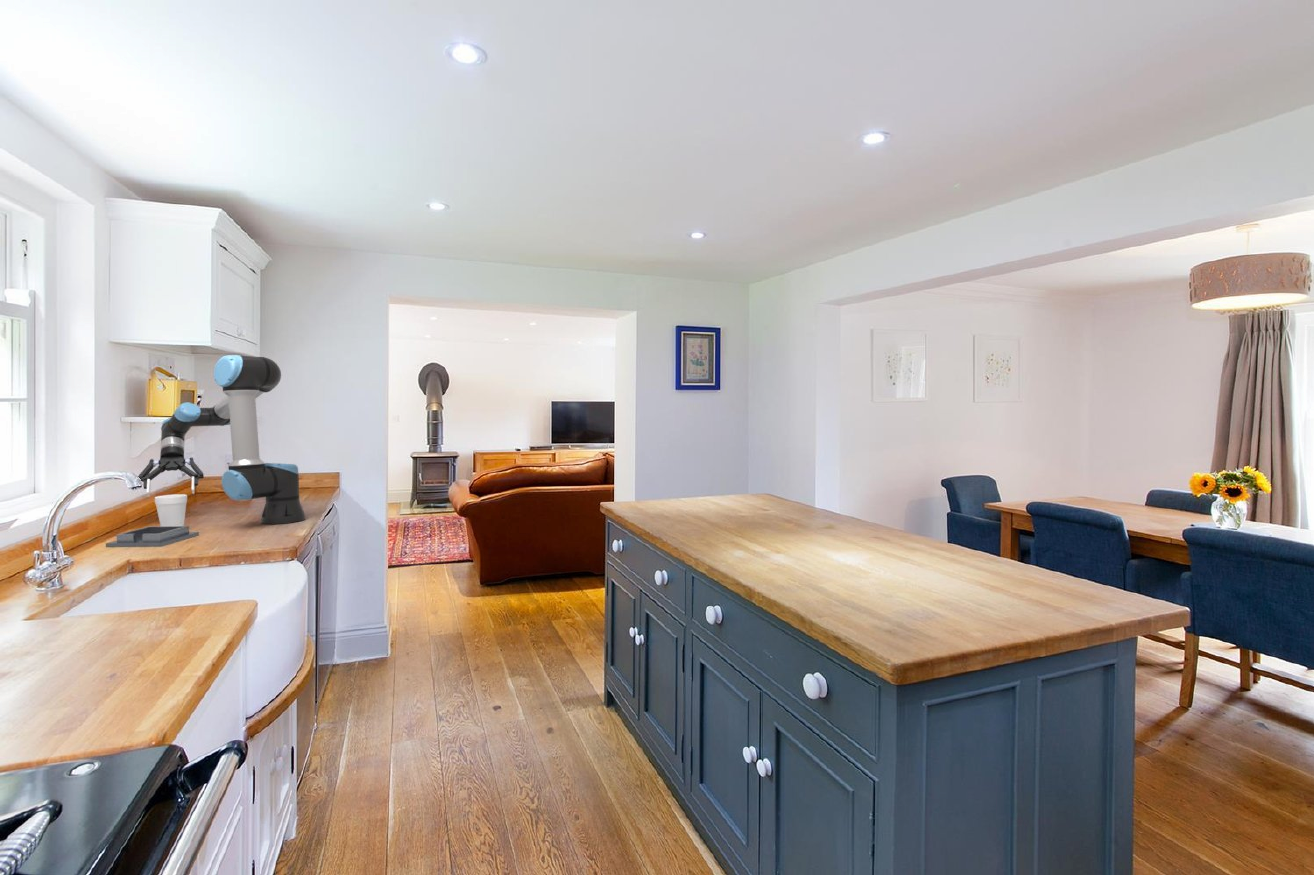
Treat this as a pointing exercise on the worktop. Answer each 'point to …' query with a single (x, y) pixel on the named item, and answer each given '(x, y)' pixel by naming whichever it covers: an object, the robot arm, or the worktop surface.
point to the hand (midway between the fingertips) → (170, 493)
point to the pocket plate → (152, 536)
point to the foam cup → (171, 509)
